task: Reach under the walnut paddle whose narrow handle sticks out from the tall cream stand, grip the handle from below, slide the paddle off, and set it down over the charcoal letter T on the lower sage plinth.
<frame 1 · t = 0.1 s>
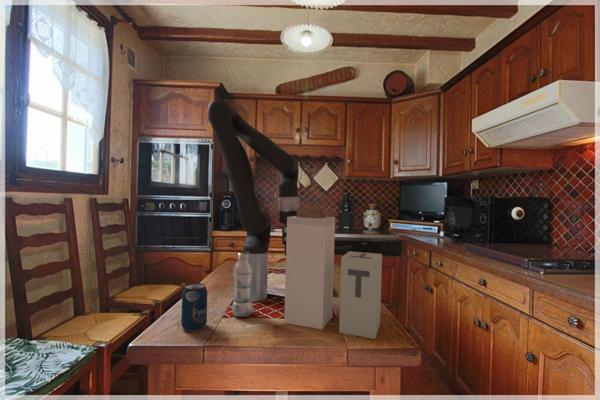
hand: (290, 254, 118), 17 cm above the table, tool pointing down, fingers open, 8 cm apart
walnut paddle: (316, 216, 105), point 32 cm above the table, touching cream stand
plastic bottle: (242, 316, 103), on the table
door handle: (313, 290, 135), on the table
soda can: (194, 328, 93), on the table
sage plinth: (360, 328, 95), on the table
cream stand: (308, 319, 101), on the table
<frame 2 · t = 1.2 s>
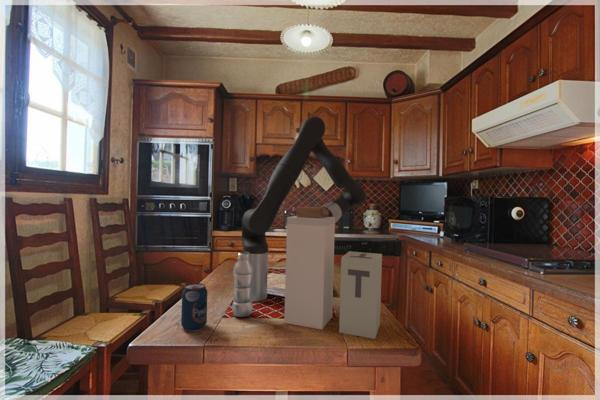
hand: (295, 236, 111), 25 cm above the table, tool tilted 65°, fingers open, 8 cm apart
nothing on the table moved.
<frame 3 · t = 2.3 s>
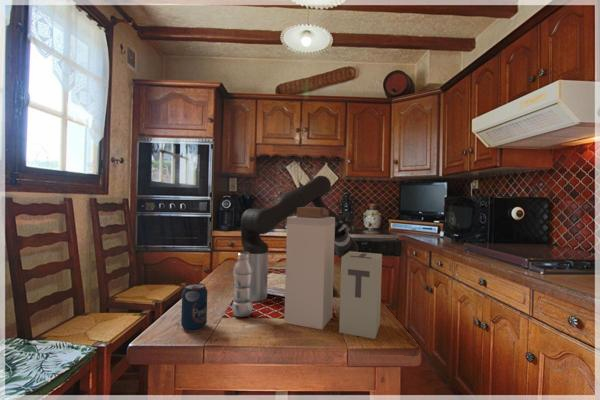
hand: (331, 216, 122), 31 cm above the table, tool pointing upward, fingers open, 8 cm apart
nothing on the table moved.
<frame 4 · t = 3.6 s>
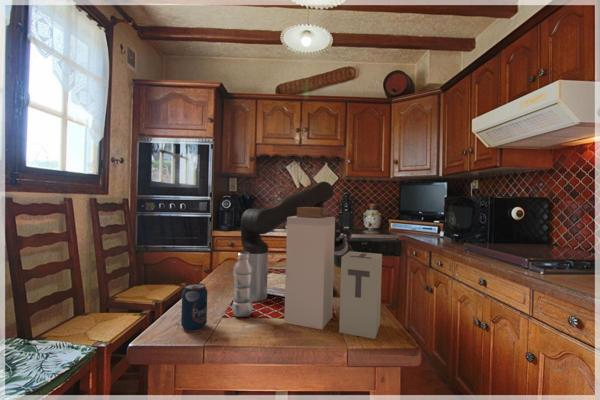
hand: (328, 225, 119), 28 cm above the table, tool pointing upward, fingers open, 8 cm apart
nothing on the table moved.
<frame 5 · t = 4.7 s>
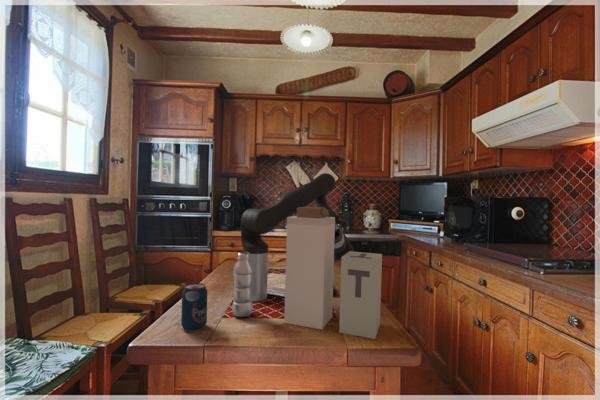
hand: (323, 216, 113), 32 cm above the table, tool pointing upward, fingers open, 8 cm apart
nothing on the table moved.
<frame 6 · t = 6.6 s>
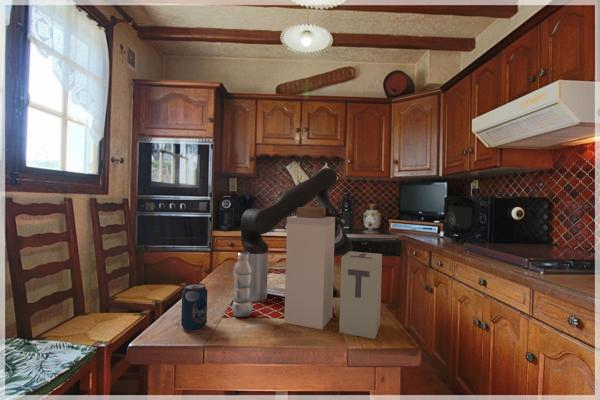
hand: (320, 208, 109), 34 cm above the table, tool pointing upward, fingers closed on walnut paddle, 3 cm apart
walnut paddle: (316, 216, 105), point 32 cm above the table, touching cream stand, gripper
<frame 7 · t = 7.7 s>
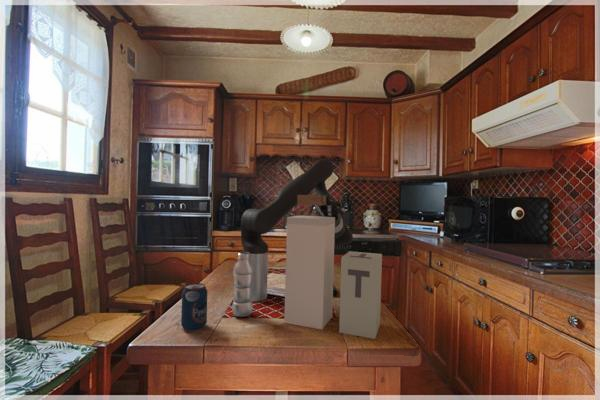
hand: (320, 197, 109), 38 cm above the table, tool pointing upward, fingers closed on walnut paddle, 3 cm apart
walnut paddle: (317, 204, 105), point 36 cm above the table, touching gripper
when the fingers open (25 cm above the table, at t = 14.2 s): walnut paddle drops 1 cm, resting on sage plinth.
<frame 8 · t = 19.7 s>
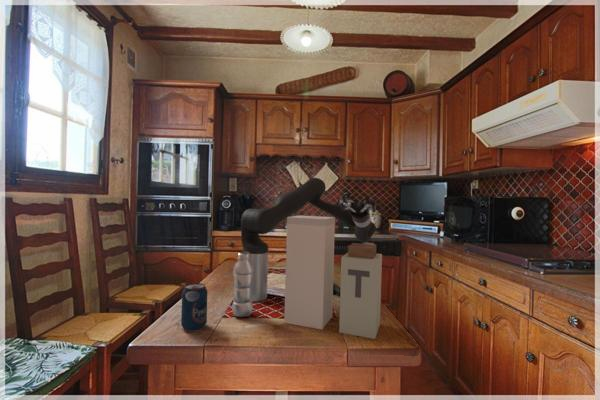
hand: (355, 196, 126), 39 cm above the table, tool pointing upward, fingers open, 8 cm apart
walnut paddle: (365, 252, 100), point 22 cm above the table, touching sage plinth
door handle: (320, 292, 133), on the table
everything else where it was.
at the end: walnut paddle inside the target area on the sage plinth (0.2 cm from its centre), point 21.5 cm above the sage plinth's base; walnut paddle tilted 0°; the gripper is holding nothing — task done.
